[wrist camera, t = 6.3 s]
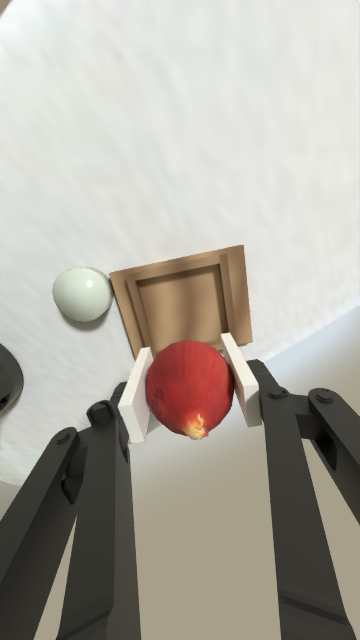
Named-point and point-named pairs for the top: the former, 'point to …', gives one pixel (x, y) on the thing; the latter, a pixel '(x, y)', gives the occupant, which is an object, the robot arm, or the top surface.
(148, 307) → the tray
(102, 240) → the top surface
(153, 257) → the top surface
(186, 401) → the onion
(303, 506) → the robot arm
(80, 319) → the pale green dome
